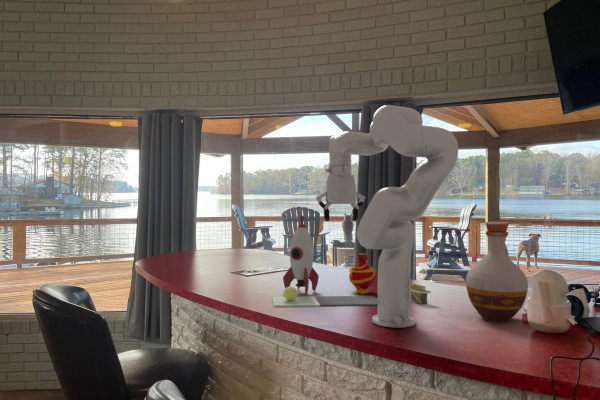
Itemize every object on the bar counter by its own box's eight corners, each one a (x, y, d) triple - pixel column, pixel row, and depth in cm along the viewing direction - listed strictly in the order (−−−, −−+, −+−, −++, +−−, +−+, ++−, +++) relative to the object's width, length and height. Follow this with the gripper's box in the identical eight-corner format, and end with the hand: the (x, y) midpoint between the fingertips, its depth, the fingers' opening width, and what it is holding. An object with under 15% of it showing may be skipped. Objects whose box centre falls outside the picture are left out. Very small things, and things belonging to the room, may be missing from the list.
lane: (384, 305, 166) (384, 303, 166) (274, 306, 162) (274, 305, 162) (373, 297, 180) (373, 295, 180) (272, 298, 176) (272, 296, 176)
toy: (282, 293, 185) (283, 215, 185) (295, 289, 194) (296, 214, 194) (308, 296, 180) (308, 216, 180) (320, 291, 189) (321, 215, 189)
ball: (298, 302, 167) (298, 287, 167) (283, 302, 167) (284, 287, 167) (296, 299, 172) (297, 285, 172) (282, 299, 172) (283, 285, 172)
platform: (422, 310, 161) (422, 291, 161) (387, 300, 177) (387, 282, 177) (448, 307, 167) (448, 288, 167) (412, 297, 182) (412, 280, 182)
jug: (478, 308, 163) (479, 219, 163) (535, 317, 152) (537, 221, 151) (456, 319, 148) (457, 221, 148) (518, 329, 136) (519, 224, 136)
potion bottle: (374, 295, 184) (375, 255, 184) (347, 293, 186) (347, 254, 186) (375, 290, 194) (376, 252, 194) (350, 288, 196) (350, 252, 196)
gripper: (318, 170, 162) (318, 221, 162) (367, 170, 165) (368, 220, 164) (314, 172, 170) (314, 221, 169) (361, 172, 172) (362, 220, 172)
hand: (341, 220), depth 167 cm, fingers open, 9 cm apart
